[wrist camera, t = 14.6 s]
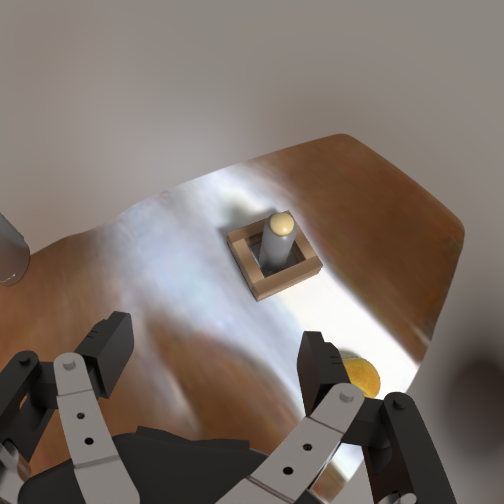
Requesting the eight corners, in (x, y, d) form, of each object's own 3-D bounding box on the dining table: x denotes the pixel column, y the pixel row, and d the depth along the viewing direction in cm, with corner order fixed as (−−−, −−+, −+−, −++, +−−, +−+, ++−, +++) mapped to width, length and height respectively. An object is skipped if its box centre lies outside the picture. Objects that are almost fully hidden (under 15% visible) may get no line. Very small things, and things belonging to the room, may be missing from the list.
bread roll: (383, 377, 36) (397, 374, 33) (349, 429, 33) (361, 432, 29) (341, 346, 38) (352, 341, 35) (303, 398, 35) (311, 398, 31)
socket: (227, 243, 44) (227, 233, 41) (285, 220, 47) (288, 210, 44) (257, 301, 40) (258, 294, 38) (317, 273, 43) (323, 265, 40)
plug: (253, 253, 44) (259, 214, 35) (277, 243, 45) (288, 204, 36) (266, 275, 42) (275, 242, 33) (290, 265, 43) (305, 229, 34)
